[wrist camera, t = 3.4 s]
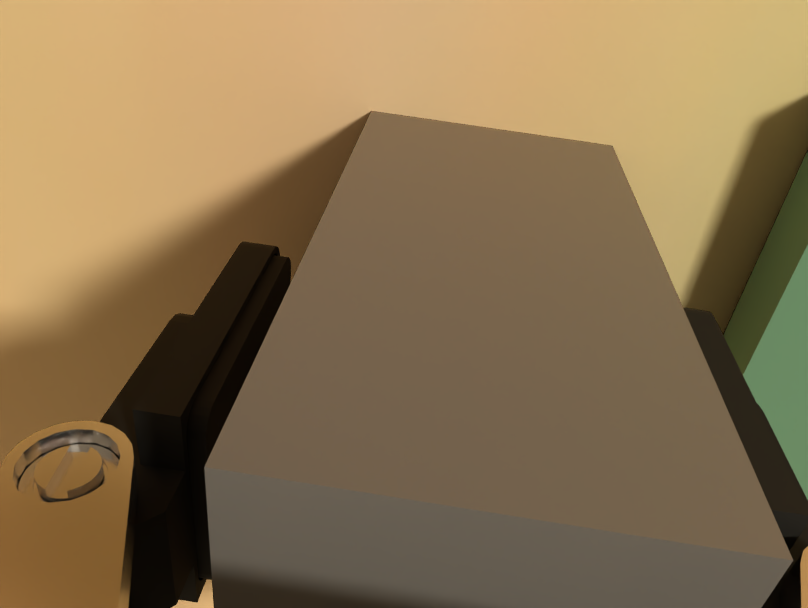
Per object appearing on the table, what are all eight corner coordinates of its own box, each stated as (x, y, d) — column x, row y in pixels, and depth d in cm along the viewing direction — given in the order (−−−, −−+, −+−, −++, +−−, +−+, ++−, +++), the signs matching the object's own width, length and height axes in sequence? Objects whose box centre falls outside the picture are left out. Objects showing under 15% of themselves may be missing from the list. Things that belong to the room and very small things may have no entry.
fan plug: (612, 145, 11) (793, 560, 5) (501, 524, 16) (512, 977, 10) (371, 110, 11) (204, 466, 5) (337, 497, 17) (235, 928, 10)
